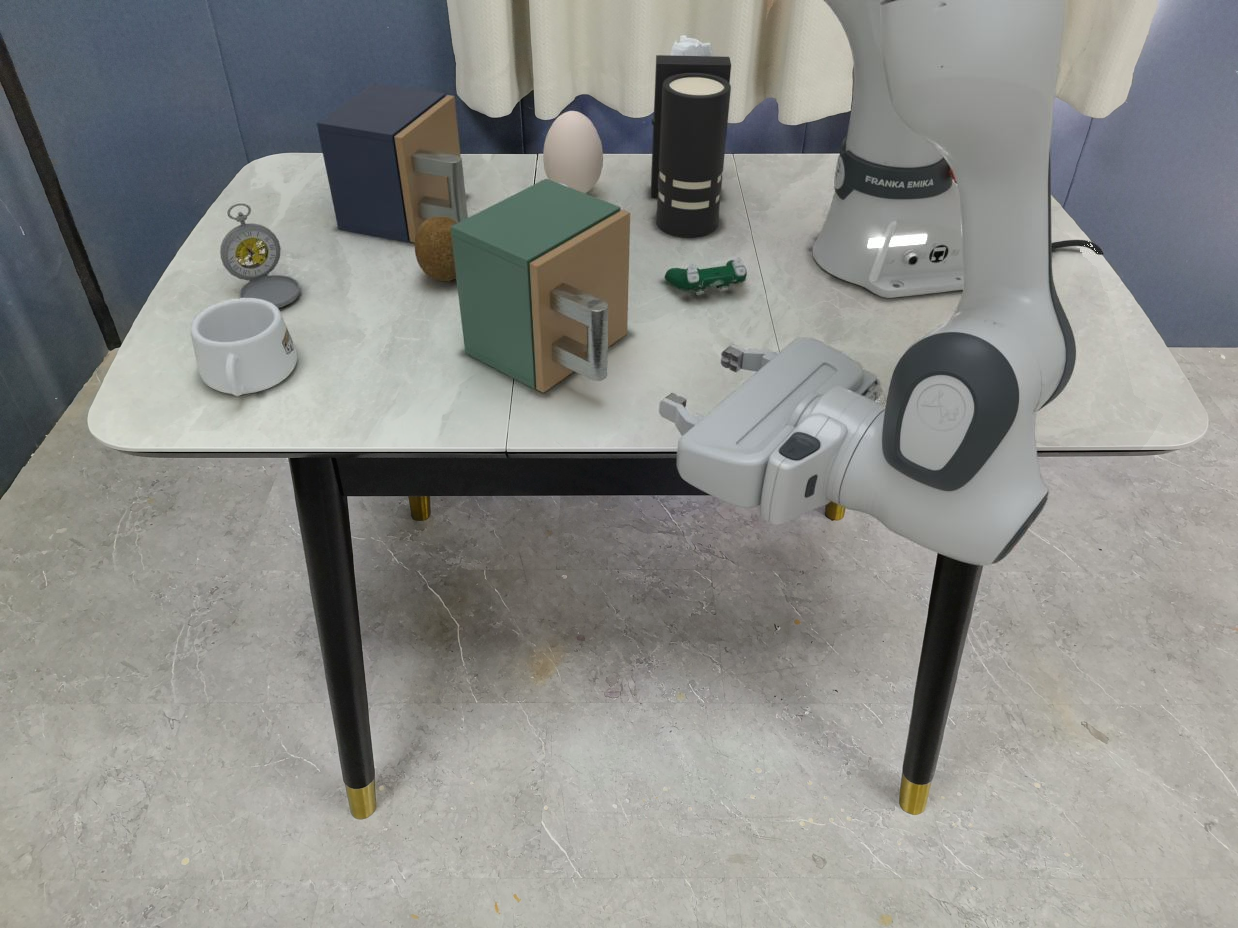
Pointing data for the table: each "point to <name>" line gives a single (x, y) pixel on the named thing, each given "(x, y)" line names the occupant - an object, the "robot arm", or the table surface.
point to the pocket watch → (257, 262)
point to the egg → (573, 152)
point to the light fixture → (689, 141)
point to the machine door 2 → (580, 302)
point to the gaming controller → (707, 276)
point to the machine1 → (371, 158)
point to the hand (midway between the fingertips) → (695, 377)
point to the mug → (242, 346)
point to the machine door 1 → (432, 167)
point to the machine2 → (514, 268)
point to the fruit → (436, 248)
